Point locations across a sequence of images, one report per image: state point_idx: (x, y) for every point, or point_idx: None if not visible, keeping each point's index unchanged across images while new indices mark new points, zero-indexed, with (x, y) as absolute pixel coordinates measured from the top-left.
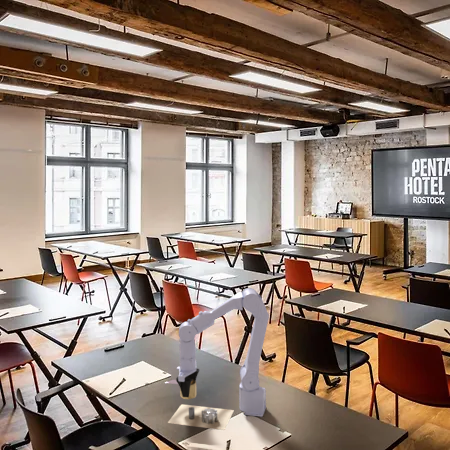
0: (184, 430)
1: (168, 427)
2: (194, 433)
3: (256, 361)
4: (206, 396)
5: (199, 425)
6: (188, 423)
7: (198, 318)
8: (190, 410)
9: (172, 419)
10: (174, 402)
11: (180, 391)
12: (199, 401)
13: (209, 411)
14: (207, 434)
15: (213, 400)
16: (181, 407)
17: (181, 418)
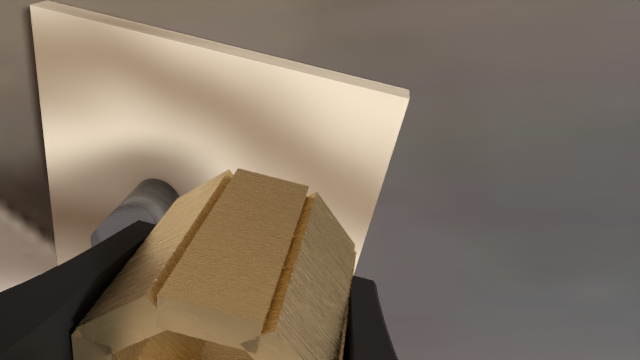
0: (27, 143)
1: (25, 12)
2: (15, 207)
3: None
4: (598, 287)
5: (71, 247)
6: (74, 179)
7: None
8: (94, 236)
9: (97, 44)
10: (527, 2)
11: (192, 212)
12: (506, 236)
13: None
14: (32, 274)
15: (506, 328)
16: (339, 105)
17: (135, 121)
